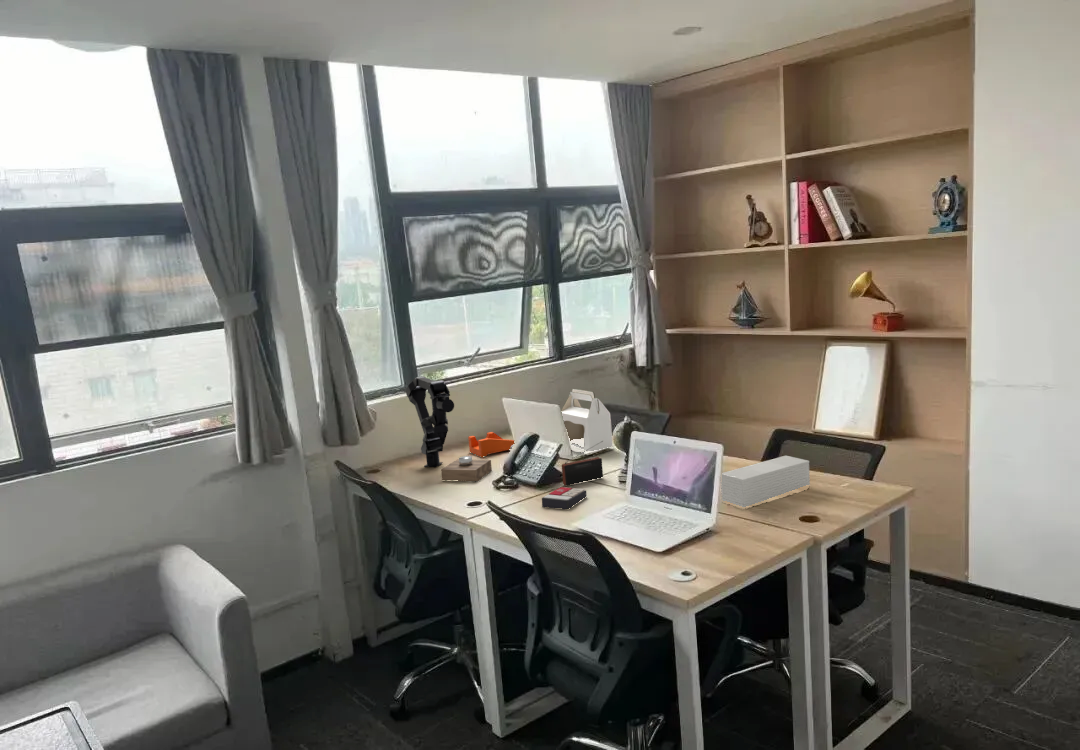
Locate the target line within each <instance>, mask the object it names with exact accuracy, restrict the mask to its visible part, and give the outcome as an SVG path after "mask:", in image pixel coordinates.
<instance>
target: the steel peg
mask: <svg viewBox="0 0 1080 750" xmlns="http://www.w3.org/2000/svg"><path fill="white" fill-rule="evenodd" d="M458 459H459V465H460V466H470V465H472V464H473V462H472V459H473V456H471V455H464V456H460V457H458Z"/></svg>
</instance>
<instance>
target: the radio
mask: <svg viewBox="0 0 1080 750" xmlns="http://www.w3.org/2000/svg"><path fill="white" fill-rule="evenodd" d="M601 442H603V441H601ZM601 442H600V443H601ZM598 444H599V443H598ZM596 445H597V444H596ZM593 447H594V446H593ZM591 448H592V447H591ZM589 449H590V448H589ZM589 449H588V450H589ZM586 451H587V450H586ZM584 452H585V451H584ZM584 452H582V453H584ZM582 453H578V454H577V455H576V456H574V457H572V458H570V459H569V460H567V461H565V462H564V463H562V464H561V473H562V474H561V475H562V485H563V484H564V485H563V486H565V485H570V484H574V483H579V482H583V481H588V480H592V479H597V478H601V477H603V478H604V471H603V459H602V458H601V457H598V456H596V457H591V458H587V459H581V460H576V461H571V460H573V459H576V458H577V457H578V456H580V455H583V454H582Z"/></svg>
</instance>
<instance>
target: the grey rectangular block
mask: <svg viewBox="0 0 1080 750" xmlns="http://www.w3.org/2000/svg"><path fill="white" fill-rule="evenodd" d="M721 473H722V482H721V481H720V484H721V485H720V486H721V487H720V489H721V494H720V495H721V501H722V500H723V501H727V502H730V503H733V504H736V505H739V506H742V507H746V506H749V505H752V504H755V503H758V502H761V501H764V500H767V499H769V498H772V497H775V496H778V495H781V494H784V493H786V492H789V491H792V490H795V489H798V488H800V487H803V486H806V485H811V483H810V481H811V479H810V460H807V459H803V458H799V457H794V456H789V455H783V456H778V457H776V458H773V459H767V460H764V461H761V462H758V463H754V464H751V465H746V466H743V467H738V468H735V469H732V470H728V471H724V472H721Z"/></svg>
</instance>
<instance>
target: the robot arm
mask: <svg viewBox="0 0 1080 750" xmlns="http://www.w3.org/2000/svg"><path fill="white" fill-rule="evenodd" d="M426 392H427V393H428V394H429V396H430V397H429V398H430V400H431V407H432V413H431V415H430V414H429V411H428V407H427V405H426V402H425V400H426V398H427V393H426ZM405 394H406V397H407V399H408V401H409V402H410V403H411V405H413V406H414V407H415V410H416V413H417V416H418V418H419V422H420V425H421V429H422V432H423V437H422V445H421V447H420V451H421V453H422V454H423V455H425V456H426V457H425V458H426V460H425V461H426V464H425V465H424V466H423V467H425V468H438V467H440V466H441V465H442V463H443V462H442V461H440V452H443V450H444V445H445V443H446V442H445V441H446V438H447V434H448V432H449V426H448V425H449V422H448V418H447V413H451V412H452V411H453V410H454V408H455V403H454V400H452V399H450V396H451V394H450V390H449V388H448V386H447V384H446V382H445V381H444V380H439V379H438V380H432V379H430V378H427V377H426V376H422V375H421V376H417V377H414V378H413V380H412V381H411V382H410V383H409V384H408V385H407V386H406V390H405ZM440 464H441V465H440ZM437 466H438V467H437Z"/></svg>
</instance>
